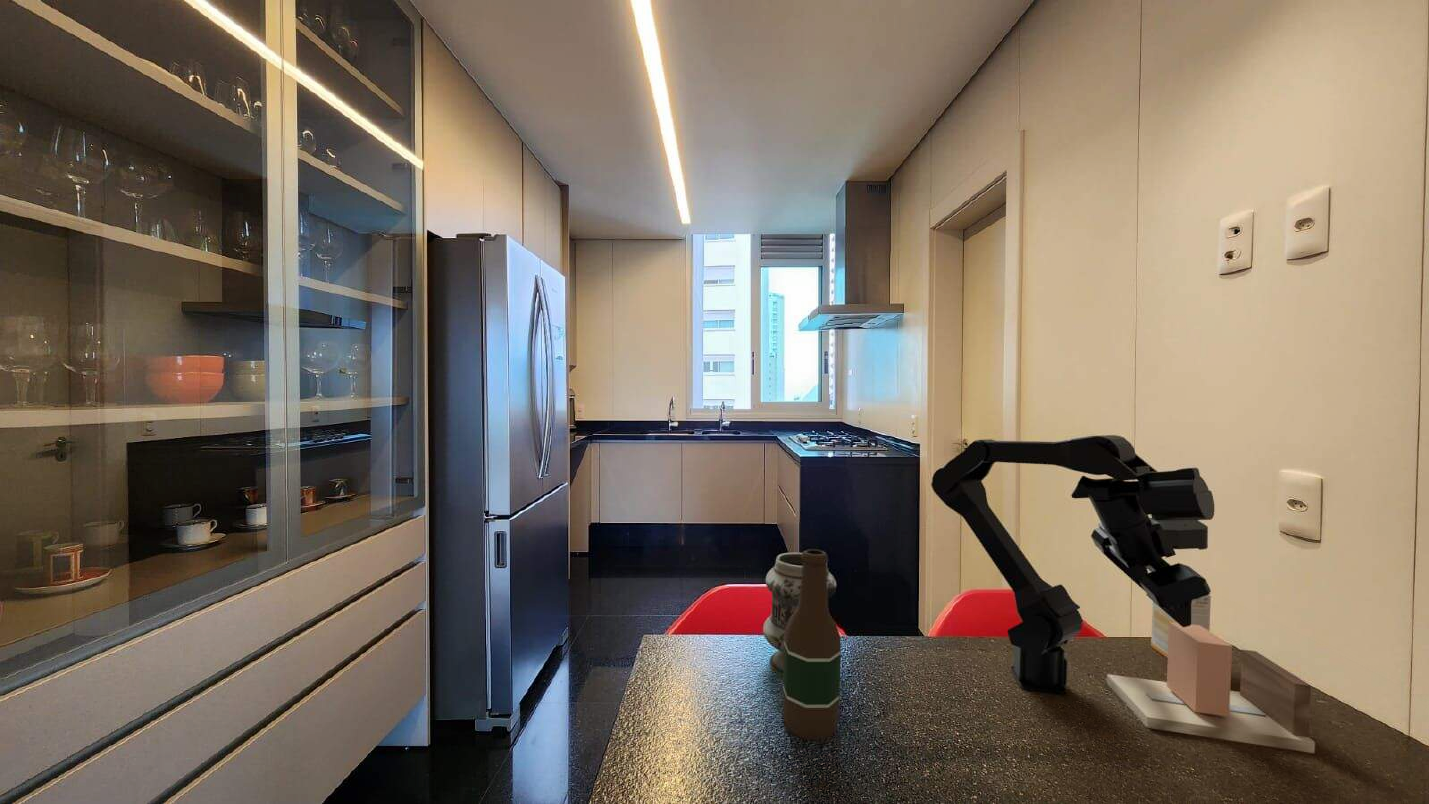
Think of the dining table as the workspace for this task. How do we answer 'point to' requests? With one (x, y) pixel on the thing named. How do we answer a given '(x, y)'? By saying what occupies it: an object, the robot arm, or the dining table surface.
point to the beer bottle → (812, 657)
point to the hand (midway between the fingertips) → (1166, 606)
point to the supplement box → (1162, 619)
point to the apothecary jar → (786, 601)
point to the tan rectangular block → (1199, 668)
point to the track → (1231, 707)
